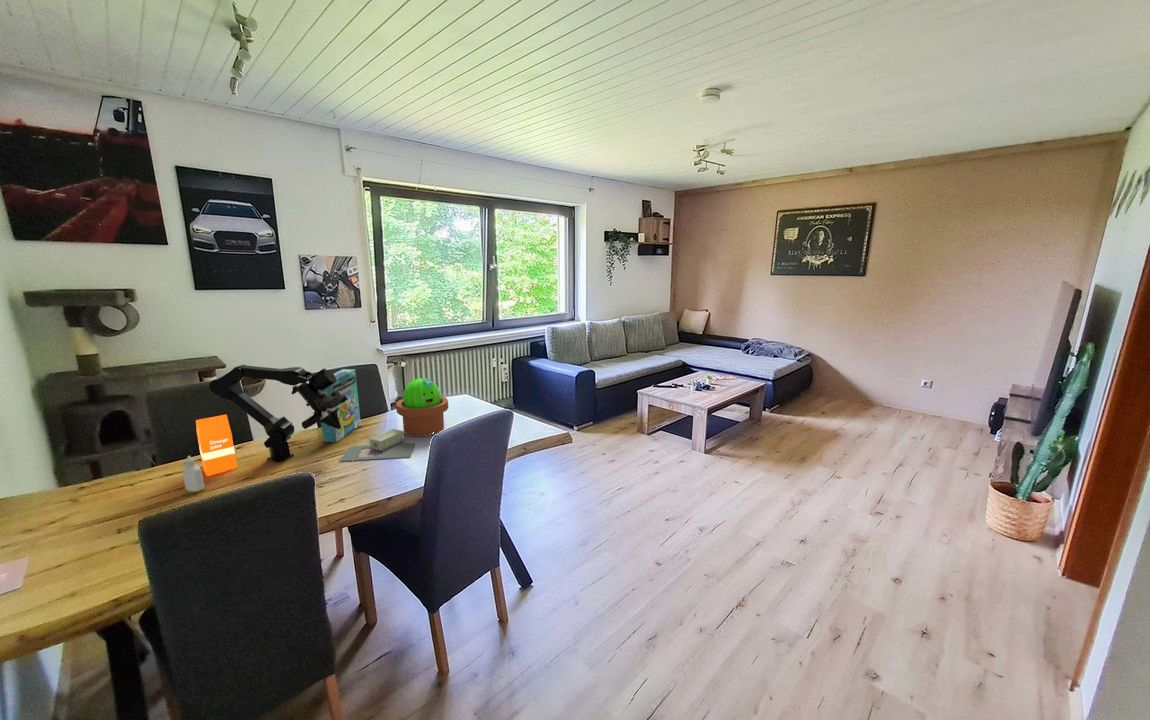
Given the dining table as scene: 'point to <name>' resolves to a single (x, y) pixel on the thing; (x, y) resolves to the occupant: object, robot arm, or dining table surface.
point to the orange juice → (216, 444)
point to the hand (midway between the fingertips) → (339, 428)
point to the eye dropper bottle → (192, 476)
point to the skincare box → (386, 439)
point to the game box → (343, 406)
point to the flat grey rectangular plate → (389, 453)
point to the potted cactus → (422, 408)
